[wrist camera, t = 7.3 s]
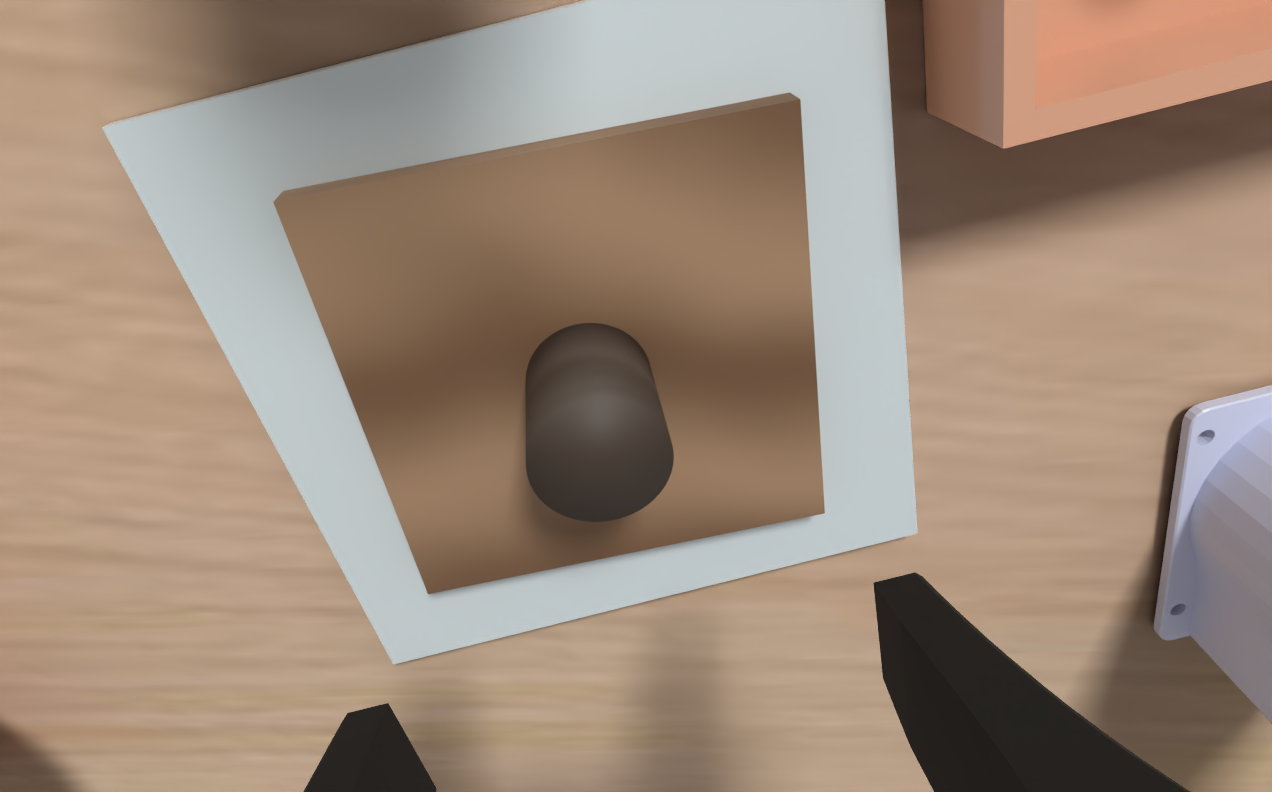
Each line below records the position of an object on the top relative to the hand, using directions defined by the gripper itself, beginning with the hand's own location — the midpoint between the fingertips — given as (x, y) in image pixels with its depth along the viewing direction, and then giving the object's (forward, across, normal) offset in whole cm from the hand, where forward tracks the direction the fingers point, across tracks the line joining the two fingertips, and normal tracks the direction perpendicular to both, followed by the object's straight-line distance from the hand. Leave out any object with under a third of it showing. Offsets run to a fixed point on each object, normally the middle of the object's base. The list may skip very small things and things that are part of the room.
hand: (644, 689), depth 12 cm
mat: (+10, 0, 0) cm, 10 cm away
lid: (+10, 0, 0) cm, 10 cm away
